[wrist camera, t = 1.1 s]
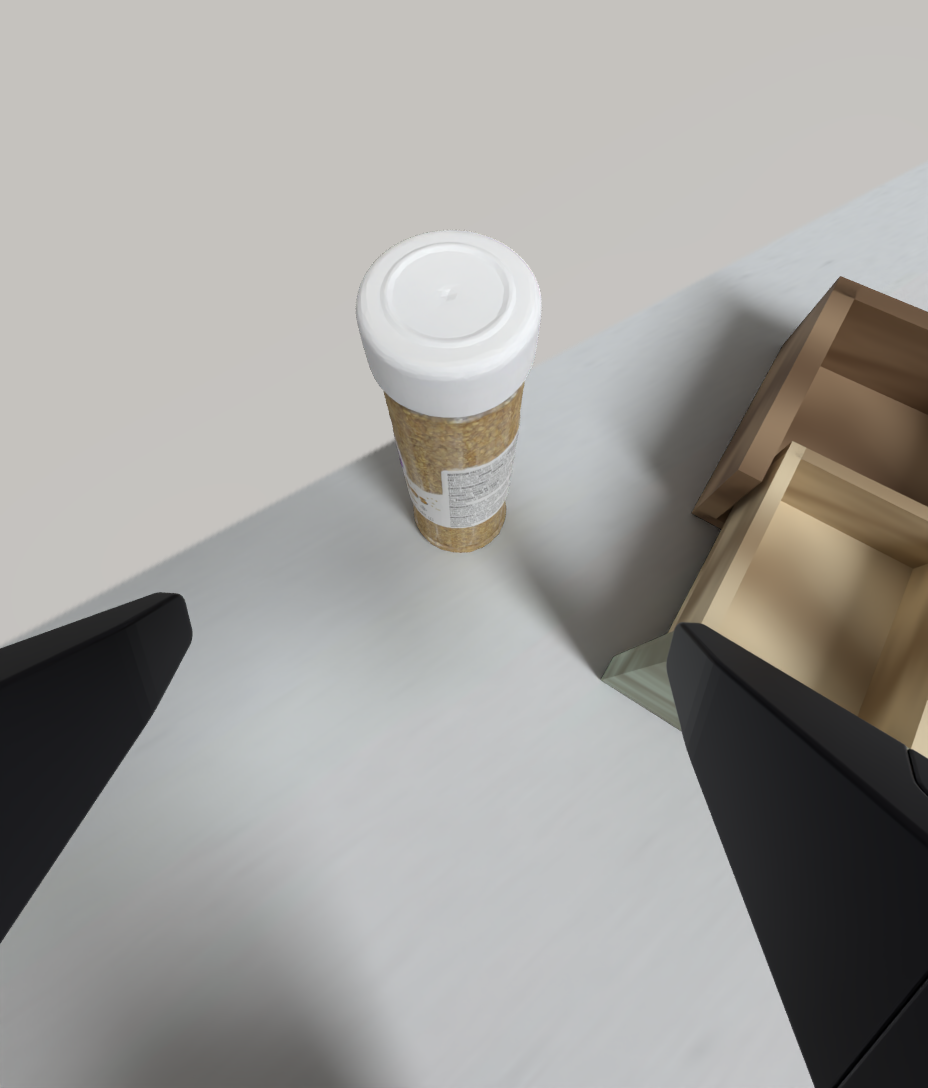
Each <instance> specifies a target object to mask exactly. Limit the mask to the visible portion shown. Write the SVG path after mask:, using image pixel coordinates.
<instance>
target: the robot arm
mask: <svg viewBox="0 0 928 1088" xmlns="http://www.w3.org/2000/svg"><path fill="white" fill-rule="evenodd" d="M191 641H192V627H191V623H190V619H189V615H188V611H187V607H186V603H185V600H184V598H183V597H182V596H181V595H180V594H177V593H162V592H159V593H154V594H151V595H148V596H146V597H143V598H140V599H137V600H135V601H132V602H129V603H126V604H123V605H121V606H118V607H115V608H112V609H109V610H107V611H104V612H101V613H98V614H95V615H93V616H90V617H87V618H84V619H81V620H79V621H76V622H73V623H70V624H68V625H65V626H62V627H59V628H56V629H54V630H51V631H48V632H45V633H42V634H40V635H37V636H34V637H31V638H28V639H26V640H23V641H20V642H17V643H15V644H12V645H9V646H6V647H3V648H1V649H0V943H1V942H2V940H3V939H4V937H5V936H6V934H7V933H8V931H9V930H10V928H11V927H12V925H13V924H14V922H15V921H16V919H17V918H18V916H19V915H20V913H21V912H22V910H23V909H24V907H25V906H26V904H27V903H28V901H29V900H30V898H31V897H32V895H33V894H34V892H35V891H36V889H37V888H38V886H39V885H40V883H41V882H42V880H43V879H44V877H45V876H46V874H47V873H48V871H49V870H50V868H51V867H52V865H53V864H54V862H55V861H56V859H57V858H58V856H59V855H60V853H61V852H62V850H63V849H64V847H65V846H66V844H67V843H68V841H69V840H70V838H71V837H72V835H73V834H74V832H75V831H76V829H77V828H78V826H79V825H80V823H81V822H82V820H83V819H84V817H85V816H86V814H87V813H88V811H89V810H90V808H91V807H92V805H93V804H94V802H95V801H96V799H97V798H98V796H99V795H100V793H101V792H102V790H103V789H104V787H105V786H106V784H107V783H108V781H109V780H110V778H111V777H112V775H113V774H114V772H115V771H116V769H117V768H118V766H119V765H120V763H121V762H122V760H123V759H124V757H125V756H126V754H127V753H128V751H129V750H130V748H131V747H132V745H133V744H134V742H135V741H136V739H137V738H138V736H139V735H140V733H141V732H142V730H143V729H144V727H145V726H146V724H147V723H148V721H149V720H150V718H151V716H152V715H153V713H154V711H155V710H156V708H157V706H158V704H159V703H160V701H161V699H162V697H163V695H164V693H165V691H166V689H167V687H168V686H169V684H170V682H171V680H172V678H173V676H174V674H175V672H176V670H177V669H178V667H179V665H180V663H181V661H182V659H183V657H184V655H185V653H186V652H187V650H188V648H189V646H190V644H191ZM666 669H667V675H668V679H669V683H670V687H671V691H672V695H673V699H674V703H675V707H676V711H677V715H678V719H679V722H680V726H681V730H682V734H683V738H684V742H685V745H686V749H687V752H688V755H689V757H690V760H691V763H692V766H693V768H694V771H695V774H696V776H697V779H698V782H699V784H700V787H701V789H702V792H703V795H704V797H705V800H706V803H707V805H708V808H709V810H710V813H711V816H712V818H713V821H714V824H715V826H716V829H717V832H718V834H719V837H720V839H721V842H722V845H723V847H724V850H725V853H726V855H727V858H728V860H729V863H730V866H731V868H732V871H733V874H734V876H735V879H736V882H737V884H738V887H739V889H740V892H741V895H742V897H743V900H744V903H745V905H746V908H747V911H748V913H749V916H750V918H751V921H752V924H753V926H754V929H755V932H756V934H757V937H758V939H759V942H760V945H761V947H762V950H763V953H764V955H765V958H766V961H767V963H768V966H769V968H770V971H771V974H772V976H773V979H774V982H775V984H776V987H777V990H778V992H779V995H780V997H781V1000H782V1003H783V1005H784V1008H785V1011H786V1013H787V1016H788V1018H789V1021H790V1024H791V1026H792V1029H793V1032H794V1034H795V1037H796V1040H797V1042H798V1045H799V1047H800V1050H801V1053H802V1055H803V1058H804V1061H805V1063H806V1066H807V1068H808V1071H809V1074H810V1076H811V1079H812V1082H813V1084H814V1087H815V1088H928V758H926V757H925V756H923V755H921V754H920V753H918V752H917V751H915V750H913V749H908V750H907V747H906V745H904V744H903V743H901V742H900V741H898V740H896V739H895V738H893V737H891V736H890V735H888V734H886V733H885V732H883V731H881V730H880V729H878V728H876V727H875V726H873V725H871V724H870V723H868V722H866V721H865V720H863V719H861V718H860V717H858V716H856V715H854V714H853V713H851V712H849V711H848V710H846V709H844V708H843V707H841V706H839V705H838V704H836V703H834V702H833V701H831V700H829V699H828V698H826V697H824V696H823V695H821V694H819V693H818V692H816V691H814V690H813V689H811V688H809V687H808V686H806V685H804V684H803V683H801V682H799V681H798V680H796V679H794V678H793V677H791V676H789V675H788V674H786V673H784V672H783V671H781V670H779V669H778V668H776V667H774V666H773V665H771V664H769V663H768V662H766V661H764V660H763V659H761V658H759V657H758V656H756V655H754V654H753V653H751V652H749V651H748V650H746V649H744V648H743V647H741V646H739V645H738V644H736V643H734V642H733V641H731V640H729V639H728V638H726V637H724V636H723V635H721V634H719V633H718V632H716V631H714V630H713V629H711V628H709V627H708V626H706V625H704V624H701V623H689V622H680V623H679V624H677V626H676V627H675V630H674V633H673V637H672V641H671V645H670V649H669V652H668V656H667V661H666Z"/></svg>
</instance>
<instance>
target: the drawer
mask: <svg viewBox="0 0 928 1088" xmlns="http://www.w3.org/2000/svg"><path fill="white" fill-rule="evenodd" d="M680 622H689V623H701V624H704V625H706V626H708V627H709V628H711V629H713V630H714V631H716V632H718V633H719V634H721V635H723V636H724V637H726V638H728V639H729V640H731V641H733V642H734V643H736V644H738V645H739V646H741V647H743V648H744V649H746V650H748V651H749V652H751V653H753V654H754V655H756V656H758V657H759V658H761V659H763V660H764V661H766V662H768V663H769V664H771V665H773V666H774V667H776V668H778V669H779V670H781V671H783V672H784V673H786V674H788V675H789V676H791V677H793V678H794V679H796V680H798V681H799V682H801V683H803V684H804V685H806V686H808V687H809V688H811V689H813V690H814V691H816V692H818V693H819V694H821V695H823V696H824V697H826V698H828V699H829V700H831V701H833V702H834V703H836V704H838V705H839V706H841V707H843V708H844V709H846V710H848V711H849V712H851V713H853V714H854V715H856V716H858V717H860V718H861V719H863V720H865V721H866V722H868V723H870V724H871V725H873V726H875V727H876V728H878V729H880V730H881V731H883V732H885V733H886V734H888V735H890V736H891V737H893V738H895V739H896V740H898V741H900V742H901V743H903V744H904V745H906V747H907V750H908V749H913V750H915V751H917V752H918V753H920V754H921V755H923V756H925V757H926V758H928V507H927V506H925V505H923V504H921V503H919V502H917V501H915V500H913V499H910V498H908V497H906V496H904V495H902V494H900V493H898V492H896V491H894V490H892V489H890V488H888V487H886V486H884V485H882V484H880V483H878V482H876V481H874V480H871V479H869V478H867V477H865V476H863V475H861V474H859V473H857V472H855V471H853V470H851V469H849V468H847V467H845V466H843V465H841V464H839V463H837V462H835V461H832V460H830V459H828V458H826V457H824V456H822V455H820V454H818V453H816V452H814V451H812V450H810V449H808V448H806V447H804V446H802V445H800V444H798V443H796V442H793V441H792V442H791V443H790V444H788V445H787V446H786V447H785V448H784V449H783V450H781V451H780V452H779V453H778V454H777V455H776V456H775V457H774V459H773V461H772V463H771V465H770V466H769V468H768V470H767V472H766V474H765V476H764V478H763V480H762V482H761V483H760V484H758V485H757V486H756V487H755V488H754V489H752V490H751V491H750V492H749V493H747V494H746V495H745V496H744V497H742V498H741V499H740V500H739V501H738V502H736V503H735V504H734V506H733V508H732V510H731V512H730V514H729V516H728V518H727V520H726V522H725V524H724V526H723V528H722V529H721V531H720V533H719V535H718V537H717V539H716V541H715V543H714V545H713V547H712V549H711V551H710V553H709V555H708V556H707V558H706V560H705V562H704V564H703V566H702V568H701V570H700V572H699V574H698V576H697V578H696V580H695V582H694V583H693V585H692V587H691V589H690V591H689V593H688V595H687V597H686V599H685V601H684V603H683V605H682V607H681V609H680V611H679V612H678V614H677V616H676V618H675V620H674V622H673V624H672V626H671V628H670V630H669V632H668V634H665V635H663V636H661V637H658V638H656V639H654V640H651V641H649V642H647V643H644V644H642V645H640V646H637V647H635V648H633V649H630V650H628V651H626V652H623V653H621V654H619V655H616V656H614V657H613V659H612V661H611V662H610V664H609V666H608V668H607V670H606V672H605V673H604V675H603V677H602V679H601V681H603V682H605V683H606V684H608V685H609V686H611V687H612V688H614V689H616V690H617V691H619V692H620V693H622V694H623V695H625V696H627V697H628V698H630V699H631V700H633V701H634V702H636V703H638V704H639V705H641V706H642V707H644V708H646V709H647V710H649V711H650V712H652V713H653V714H655V715H657V716H658V717H660V718H661V719H663V720H664V721H666V722H668V723H669V724H671V725H672V726H674V727H676V728H677V729H679V730H680V731H682V730H681V726H680V722H679V719H678V715H677V711H676V707H675V703H674V699H673V695H672V691H671V687H670V683H669V679H668V675H667V669H666V661H667V656H668V652H669V649H670V645H671V641H672V637H673V633H674V630H675V627H676V626H677V624H679V623H680Z"/></svg>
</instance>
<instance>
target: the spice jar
mask: <svg viewBox="0 0 928 1088" xmlns="http://www.w3.org/2000/svg"><path fill="white" fill-rule="evenodd" d="M541 311H542V303H541V293H540V289H539V286H538V282H537V280H536V278H535V276H534V274H533V272H532V270H531V269H530V267H529V266H528V265H527V263H526V262H525V261H524V260H523V259H522V258H521V257H520V256H519V255H518V254H517V253H516V252H515V251H514V250H512V249H511V248H509V247H508V246H506V245H505V244H503V243H502V242H500V241H497V240H495V239H493V238H491V237H489V236H485V235H482V234H479V233H475V232H469V231H462V230H441V231H433V232H427V233H423V234H419V235H415V236H413V237H410V238H408V239H405V240H403V241H401V242H400V243H398V244H396V245H394V246H393V247H391V248H389V249H388V250H387V251H385V252H384V253H383V254H382V255H381V256H380V257H378V258H377V259H376V260H375V262H374V263H373V264H372V265H371V267H370V268H369V270H368V271H367V272H366V274H365V276H364V278H363V280H362V282H361V285H360V287H359V291H358V295H357V304H356V318H357V323H358V327H359V331H360V335H361V339H362V343H363V347H364V350H365V354H366V357H367V360H368V363H369V366H370V369H371V371H372V373H373V376H374V378H375V380H376V381H377V382H378V384H379V386H380V387H381V388H382V389H383V390H384V395H385V398H386V403H387V406H388V410H389V415H390V418H391V421H392V425H393V432H394V437H395V442H396V446H397V449H398V453H399V457H400V461H401V465H402V469H403V472H404V476H405V479H406V483H407V487H408V491H409V495H410V498H411V500H412V502H413V505H414V517H415V521H416V524H417V526H418V528H419V530H420V532H421V533H422V535H423V536H424V537H425V538H426V539H427V540H428V541H429V542H430V543H431V544H433V545H435V546H436V547H438V548H440V549H442V550H447V551H451V552H460V553H462V552H472V551H474V550H476V549H479V548H482V547H484V546H485V545H487V544H488V543H490V542H491V541H492V540H493V539H494V538H495V537H496V536H497V535H498V534H499V532H500V530H501V527H502V526H503V523H504V520H505V515H506V503H505V499H506V497H507V494H508V490H509V485H510V480H511V474H512V468H513V463H514V457H515V451H516V444H517V438H518V432H519V426H520V408H521V401H522V394H523V388H524V381H525V379H526V378H527V376H528V374H529V372H530V370H531V367H532V365H533V362H534V358H535V353H536V347H537V341H538V335H539V327H540V321H541Z"/></svg>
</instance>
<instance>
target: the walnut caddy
mask: <svg viewBox="0 0 928 1088" xmlns="http://www.w3.org/2000/svg"><path fill="white" fill-rule="evenodd" d="M792 441H793V442H796V443H798V444H800V445H802V446H804V447H806V448H808V449H810V450H812V451H814V452H816V453H818V454H820V455H822V456H824V457H826V458H828V459H830V460H832V461H835V462H837V463H839V464H841V465H843V466H845V467H847V468H849V469H851V470H853V471H855V472H857V473H859V474H861V475H863V476H865V477H867V478H869V479H871V480H874V481H876V482H878V483H880V484H882V485H884V486H886V487H888V488H890V489H892V490H894V491H896V492H898V493H900V494H902V495H904V496H906V497H908V498H910V499H913V500H915V501H917V502H919V503H921V504H923V505H925V506H927V507H928V312H926V311H924V310H922V309H919V308H917V307H914V306H912V305H909V304H907V303H905V302H902V301H900V300H897V299H895V298H892V297H890V296H888V295H885V294H883V293H880V292H878V291H875V290H873V289H871V288H868V287H866V286H863V285H861V284H858V283H856V282H854V281H851V280H849V279H846V278H844V277H841V276H840V277H839V278H838V279H837V281H836V282H835V283H834V284H833V285H832V287H831V288H830V289H829V290H828V291H827V293H826V294H825V295H824V296H823V297H822V299H821V300H820V301H819V302H818V303H817V305H816V306H815V307H814V308H813V309H812V311H811V312H810V313H809V314H808V315H807V317H806V318H805V319H804V320H803V321H802V323H801V324H800V325H799V326H798V327H797V329H796V330H795V331H794V332H793V333H792V335H791V336H790V337H789V338H788V339H787V341H786V342H785V343H784V344H783V346H782V348H781V350H780V351H779V353H778V355H777V357H776V359H775V361H774V362H773V364H772V366H771V368H770V370H769V372H768V373H767V375H766V377H765V379H764V381H763V383H762V384H761V386H760V388H759V390H758V392H757V394H756V395H755V397H754V399H753V401H752V403H751V405H750V406H749V408H748V410H747V412H746V414H745V416H744V417H743V419H742V421H741V423H740V425H739V427H738V428H737V430H736V432H735V434H734V436H733V438H732V440H731V441H730V443H729V445H728V447H727V449H726V451H725V452H724V454H723V456H722V458H721V460H720V462H719V463H718V465H717V467H716V469H715V471H714V473H713V474H712V476H711V478H710V480H709V482H708V484H707V485H706V487H705V489H704V491H703V493H702V495H701V496H700V498H699V500H698V502H697V504H696V506H695V507H694V509H693V511H692V514H694V515H696V516H697V517H699V518H701V519H703V520H705V521H707V522H709V523H710V524H712V525H714V526H716V527H718V528H720V529H722V528H723V526H724V524H725V522H726V520H727V518H728V516H729V514H730V512H731V510H732V508H733V506H734V504H735V503H736V502H738V501H739V500H740V499H741V498H742V497H744V496H745V495H746V494H747V493H749V492H750V491H751V490H752V489H754V488H755V487H756V486H757V485H758V484H760V483H761V482H762V480H763V478H764V476H765V474H766V472H767V470H768V468H769V466H770V465H771V463H772V461H773V459H774V457H775V456H776V455H777V454H778V453H779V452H780V451H781V450H783V449H784V448H785V447H786V446H787V445H788V444H790V443H791V442H792Z"/></svg>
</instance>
